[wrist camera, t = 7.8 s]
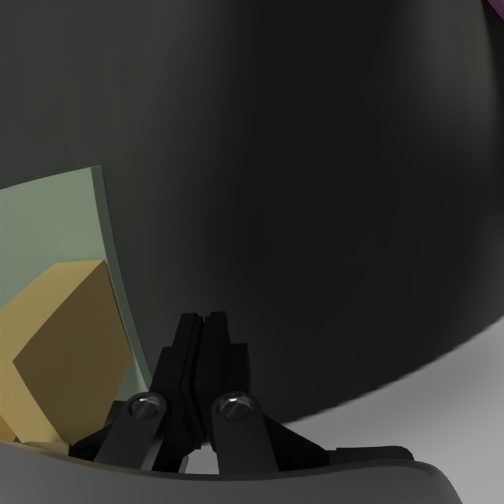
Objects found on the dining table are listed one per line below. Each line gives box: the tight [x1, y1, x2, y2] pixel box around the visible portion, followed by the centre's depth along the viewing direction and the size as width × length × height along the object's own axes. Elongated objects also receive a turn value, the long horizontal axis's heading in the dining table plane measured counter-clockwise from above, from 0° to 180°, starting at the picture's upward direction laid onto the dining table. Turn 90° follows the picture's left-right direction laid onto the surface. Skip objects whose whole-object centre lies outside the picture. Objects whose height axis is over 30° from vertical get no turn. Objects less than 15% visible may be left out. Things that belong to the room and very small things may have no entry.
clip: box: [0, 259, 132, 445], centre depth 10 cm, size 6×6×8 cm
